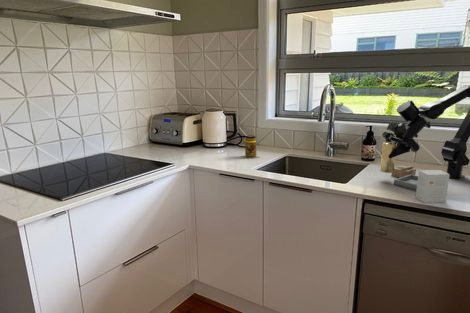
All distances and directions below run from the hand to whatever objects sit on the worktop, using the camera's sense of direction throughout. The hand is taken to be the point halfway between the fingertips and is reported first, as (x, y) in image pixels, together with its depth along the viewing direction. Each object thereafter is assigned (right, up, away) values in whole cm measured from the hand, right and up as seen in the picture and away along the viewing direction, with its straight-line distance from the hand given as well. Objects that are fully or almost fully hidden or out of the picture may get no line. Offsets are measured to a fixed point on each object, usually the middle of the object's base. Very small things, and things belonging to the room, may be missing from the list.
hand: (385, 156), depth 140 cm
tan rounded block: (+12, -9, +9) cm, 17 cm away
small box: (+7, -16, -20) cm, 26 cm away
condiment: (-54, -1, +47) cm, 72 cm away
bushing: (+1, -6, +2) cm, 7 cm away
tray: (+11, -12, -4) cm, 17 cm away
